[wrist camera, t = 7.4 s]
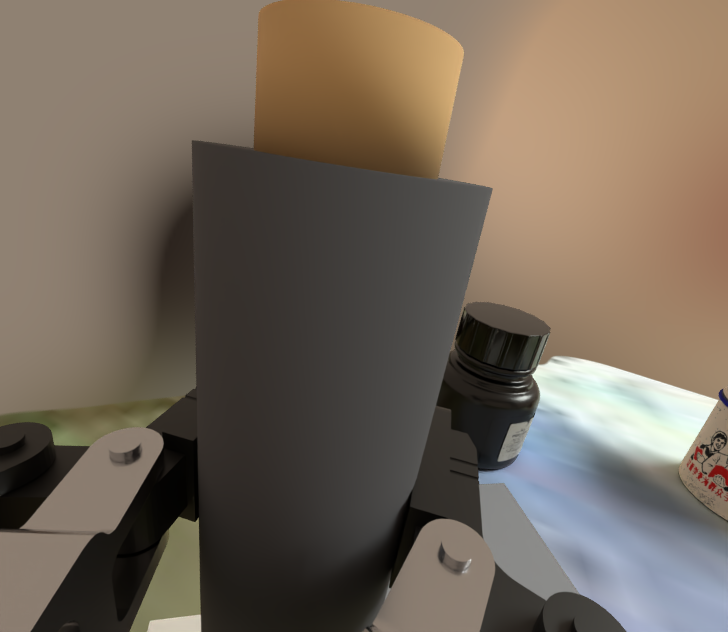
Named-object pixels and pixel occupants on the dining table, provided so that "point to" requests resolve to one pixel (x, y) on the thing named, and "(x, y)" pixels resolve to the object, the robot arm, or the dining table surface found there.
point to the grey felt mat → (518, 544)
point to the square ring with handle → (176, 624)
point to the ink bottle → (494, 379)
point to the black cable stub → (324, 313)
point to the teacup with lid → (710, 460)
